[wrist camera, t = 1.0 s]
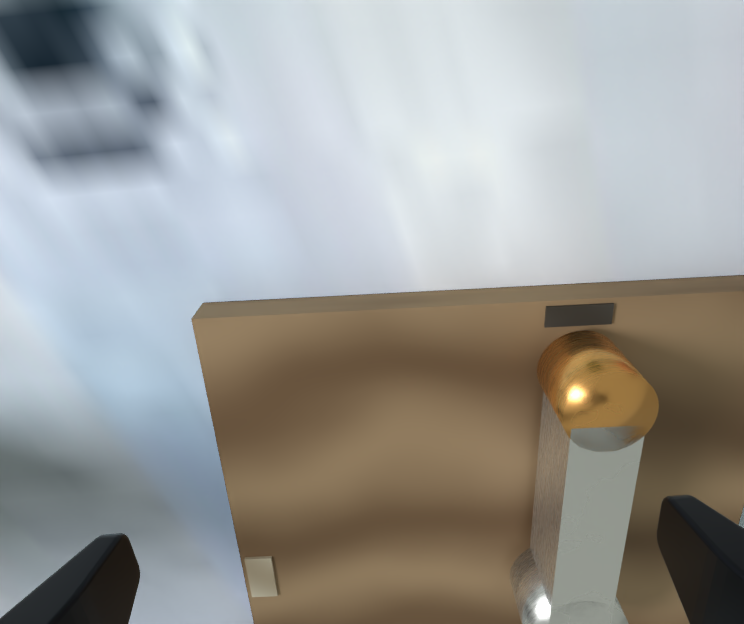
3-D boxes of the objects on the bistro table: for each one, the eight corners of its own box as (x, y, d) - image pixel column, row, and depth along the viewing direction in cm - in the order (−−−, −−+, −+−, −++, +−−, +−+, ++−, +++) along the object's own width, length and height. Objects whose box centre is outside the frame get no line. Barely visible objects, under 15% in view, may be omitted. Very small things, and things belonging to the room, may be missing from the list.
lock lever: (594, 602, 25) (622, 667, 22) (507, 606, 25) (524, 671, 23) (638, 327, 20) (682, 369, 17) (525, 333, 20) (551, 376, 17)
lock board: (678, 655, 30) (694, 685, 28) (274, 670, 30) (269, 702, 29) (777, 273, 21) (808, 289, 19) (202, 302, 21) (190, 320, 20)
